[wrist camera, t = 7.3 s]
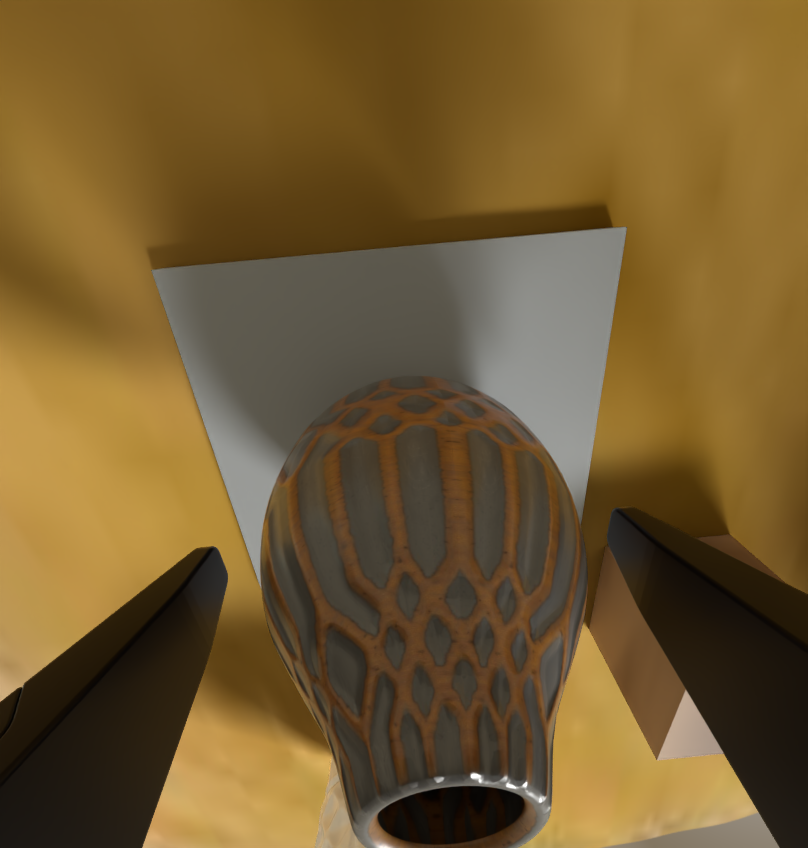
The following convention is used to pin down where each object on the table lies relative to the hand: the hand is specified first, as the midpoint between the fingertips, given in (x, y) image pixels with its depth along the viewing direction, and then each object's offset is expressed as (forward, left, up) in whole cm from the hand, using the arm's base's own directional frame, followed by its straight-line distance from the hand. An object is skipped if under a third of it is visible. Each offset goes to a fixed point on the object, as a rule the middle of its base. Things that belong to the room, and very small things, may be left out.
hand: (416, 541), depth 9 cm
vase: (0, 0, -4) cm, 4 cm away
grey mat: (0, 0, -5) cm, 5 cm away
